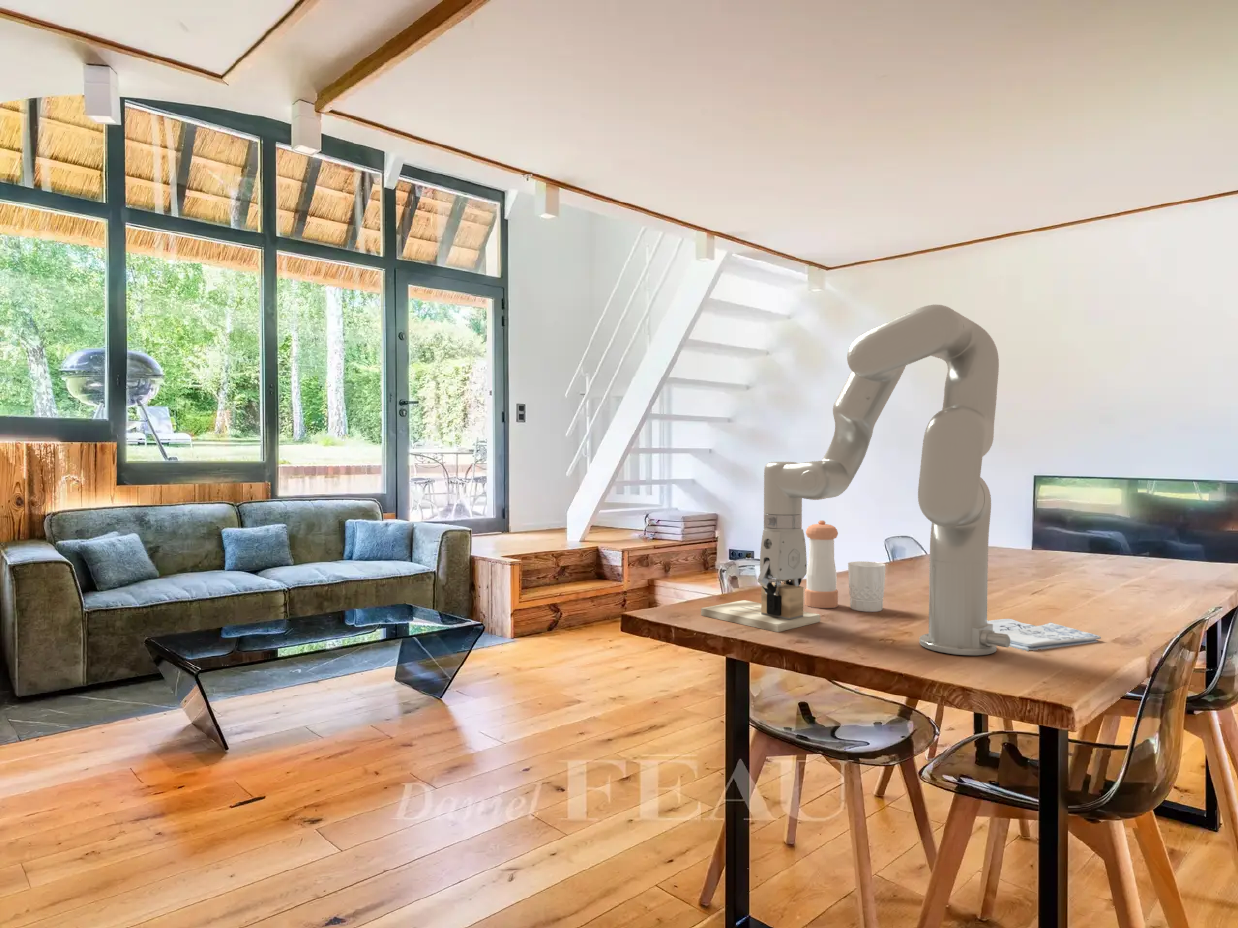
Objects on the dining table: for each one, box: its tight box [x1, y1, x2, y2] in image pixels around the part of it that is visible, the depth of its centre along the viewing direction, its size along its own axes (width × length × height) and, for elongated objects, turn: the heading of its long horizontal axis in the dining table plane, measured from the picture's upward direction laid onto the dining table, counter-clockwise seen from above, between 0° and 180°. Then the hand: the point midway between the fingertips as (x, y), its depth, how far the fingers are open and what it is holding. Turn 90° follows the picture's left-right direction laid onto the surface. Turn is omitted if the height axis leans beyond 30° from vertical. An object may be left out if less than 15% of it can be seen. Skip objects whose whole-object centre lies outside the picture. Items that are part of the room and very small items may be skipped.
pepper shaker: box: [804, 520, 839, 609], centre depth 177 cm, size 7×7×19 cm
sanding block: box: [760, 582, 804, 620], centre depth 158 cm, size 7×4×6 cm, turn 41°
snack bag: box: [987, 618, 1102, 652], centre depth 150 cm, size 19×20×2 cm
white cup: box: [847, 561, 887, 613], centre depth 173 cm, size 8×8×10 cm
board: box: [700, 599, 821, 633], centre depth 163 cm, size 20×14×2 cm
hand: (781, 611), depth 158 cm, fingers closed on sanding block, 4 cm apart
